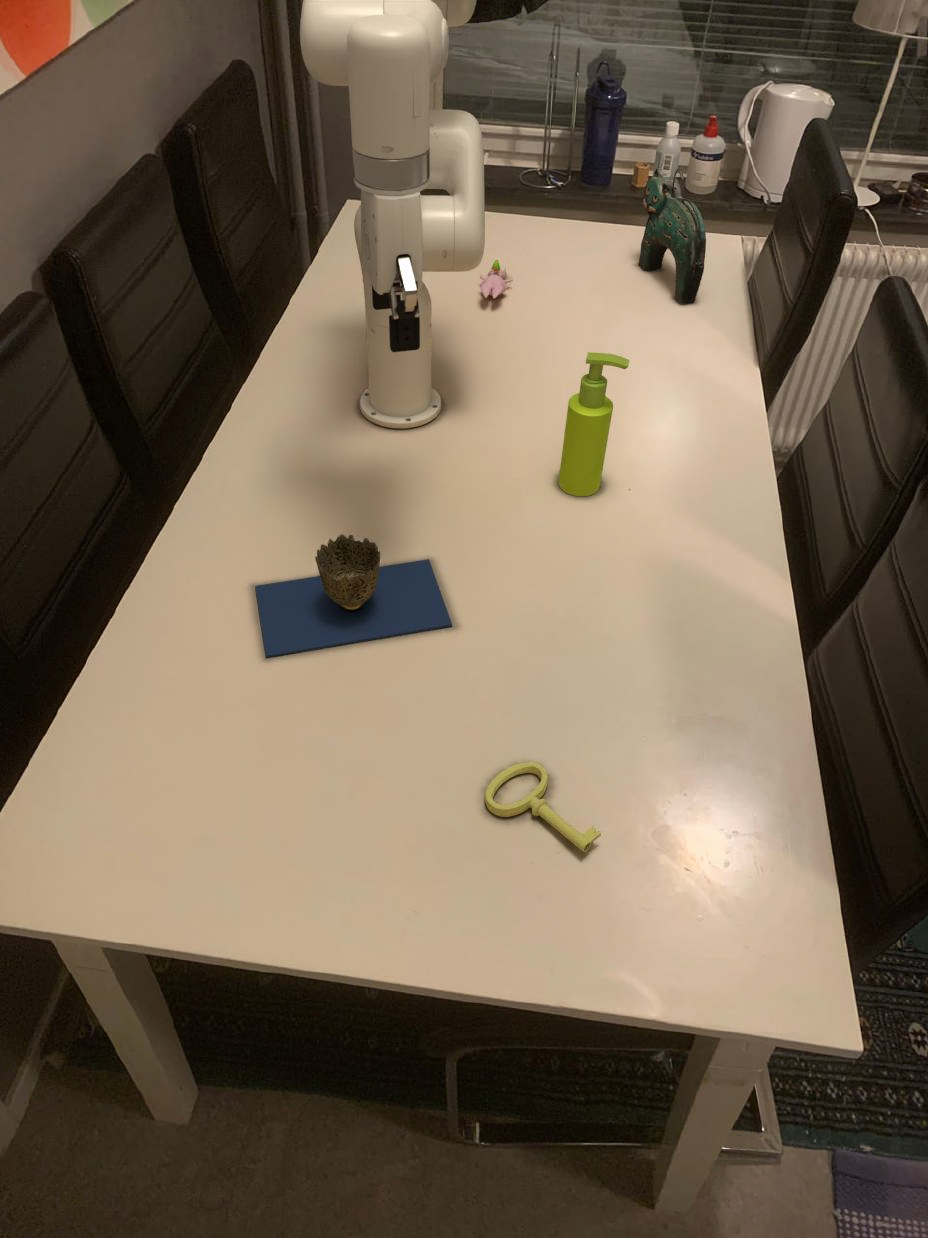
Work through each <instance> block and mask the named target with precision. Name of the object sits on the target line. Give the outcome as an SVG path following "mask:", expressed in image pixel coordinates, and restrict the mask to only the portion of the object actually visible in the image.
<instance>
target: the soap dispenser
mask: <svg viewBox="0 0 928 1238" xmlns="http://www.w3.org/2000/svg"><path fill="white" fill-rule="evenodd" d="M585 364H586V365H589V370H588V373H586V374H583V376H582V377H581V379H580V385H579V392H578V393H577V392H576V393H575V394H572V396H571V397H569V399H568V402H567V411H566V419H565V426H564V436H563V444H562V450H561V459H560V465H559V466H560V467H559V475H558V486H559V488H560V489H561V490H562V491H563V492H564V493H565V494H568V495H571V496H575V497H588V496H592V495H595V494H596V493H597V492H598V491H599V490H600V487H601V482H602V476H603V471H604V465H605V458H606V451H607V446H608V439H609V436H610V435H609V434H610V427H611V422H612V416H613V411H614V410H613V409H614V403H613V401H612V399H610V398H609V397H608V396H607V395H606V394H607V393H606V392H607V387H608V378H606V377H605V376H604V375H603V370H604V366H607V367H608V366H610V367H616V368H618V369H622V370H626V369H628V368H629V366H630V359H628V358H626V357H623V356H621V355H617V354H613V353H605V352H592V351H591V352H587V353H586V358H585Z"/></svg>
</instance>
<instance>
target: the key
mask: <svg viewBox="0 0 928 1238" xmlns="http://www.w3.org/2000/svg"><path fill="white" fill-rule="evenodd" d="M522 774H533V775H536V776H537V777H538V778H539V779H540V782H539V783H538V784H537V786H536V787H535V789H533V790H532V791H531V792H530V793H529V794H528V795H526V796H525V797H523V798H522V799H520V800H519V801H517V802H514V803H513V802H512V803H509V804H499V803H497V802H496V801H494V797H495V795H496V792H497V791H498V789H499V788H500V787H501V786H502V785H503V784H504V783H506V781H508V780H509V779H512V778H513V777H515V776H518V775H522ZM548 783H549V777H548V773H547V770H546V768H544V766H542V765H541V764H539V763H537V762H534V761H525V762H520V763H516V764H514V765H511V766H509V767H507V768H506V769H504V770H502V771H501V772H500V773H498V774H497V775H496V776H495V777H494V778H493V779H492V780H491V781H490V782H489V784H488V786H487V787H486V790H485V791H484V802H485V805H486V808H487V810H489V812H491V813H492V814H493V815H494V816H495V815H496V816H498V817H502V818H508V817H513V816H517V815H519V814H521V813H524V812H526V811H527V810H529V809H531V814H532V815H533V816H534V817H538V816H539V817H541V818H542V819H543V820H545V822H547V823H548V824H549V825H551V827H552V828H554V829H555V830H557V831H558V832H559V833H560V834H561V835H562V836H563V837H565V838H566V839H567V840H568V841H570V842H571V843H572V844H573V845H574V846H576V847H577V848H578V849H579V850H580V851H581V852H582V853H585V852H587V851H588V850H589V849H590V848H591V847H592V844H593V843H594V842H595V841H596V840H597V839H598V838H600V836H602V832H601V831H600V830H599V831H597V830H596V829H597V828H596V827H595V826H594V825H592V826H590V827H589V828H588V829H587V830H585V831H584V832H583V833H581V832H580V831H579V830H578V829H576V828H575V827H573V826H572V825H571V824H570V822H568V821H566V820H565V819H564V818H562V816H561V815H560V814H558V813H557V812H555V811H554V810H553V809H552V808H551V807H550V806H548V801H547V799H545V798H542V797H543V795H544V794H545V792H546V789H547V787H548Z"/></svg>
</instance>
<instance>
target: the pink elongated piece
mask: <svg viewBox="0 0 928 1238" xmlns="http://www.w3.org/2000/svg"><path fill="white" fill-rule="evenodd" d="M507 277H508V274H507V270H506V268H503V269H502V268H501V266H500V263H499V260H498V259H496V260H494V262H493V264H492V266H491V268H490V270H489V271H488V273H487V277H484V276H483V275H479V279H480V280H483V281H481V283H480V285H479V287H480V291H481V293H482V295H483V297H484V298H486V299H487V298H488V297H489V296H491V297H492V299H496V298H497V297H498V296H500V295H502V294H503V293H505V292H507V290H508V289H509V286H508V284H507V283H512V282H513V280H514V279H513V278H512V277H511V278H509V279H507Z"/></svg>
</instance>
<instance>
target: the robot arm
mask: <svg viewBox="0 0 928 1238" xmlns="http://www.w3.org/2000/svg"><path fill="white" fill-rule="evenodd" d="M476 5H477V0H302V7H301V13H300V23H299V40H300V42H299V43H300V50H301V55H302V60H303V63H304V65H305V68H306V70H307V71H308V74H309V75H310V76H311V77H312V78H313V79H314V80H315V81H316V82H317V83H320V84H323V85H326V86H331V87H348V97H349V113H350V129H351V130H350V133H351V134H350V135H351V149H352V151H351V152H352V153H351V154H352V170H353V171H352V172H353V183H354V186H355V187H356V188H357V189H359V190H360V205H359V206H358V208H357V209H356V211H355V215H354V220H353V224H354V225H353V227H354V229H353V231H354V238H355V244H356V248H357V253H358V258H359V262H360V263H359V264H360V270H361V276H362V284H363V297H364V313H365V315H364V316H365V330H366V331H365V333H366V353H367V354H366V355H367V369H368V370H367V374H368V375H367V376H368V388H366V389H365V390H364V391H363V393H361V395H360V398H359V410H360V412H361V415H362V416H363V417H364V418H366V419H367V420H368V421H370V422H371V423H373V424H375V425H377V426H381V427H385V428H388V429H389V428H390V429H413V428H416V427H421V426H423V425H426V424H429V422H432V421H433V420H434V419H436V418H437V417H438V416H439V414H440V413H441V410H442V397H441V396H440V393H438V391H437V390H436V389H434V388H433V387H432V347H433V346H432V345H433V344H432V343H433V342H432V338H433V337H432V335H433V334H432V331H433V329H432V328H433V327H432V325H433V316H432V315H433V310H432V309H433V307H432V306H433V305H432V304H433V303H432V299H431V295H430V291H429V290H428V288H427V286H426V284H425V283H424V281H423V274H424V273H465V272H469V271H473V270H475V269H476V268H478V267H479V265H481V263H482V260H483V257H484V254H485V246H486V245H485V244H486V206H485V205H486V203H485V200H486V199H485V198H486V197H485V152H484V151H485V150H484V138H483V133H482V129H481V126H480V123H479V121H478V119H477V118H476V117H475V116H474V115H473V114H472V113H470V112H469V111H466V110H461V109H449V108H448V109H446V108H445V109H442V108H437V109H436V108H431V86H433V84H434V83H435V82H436V81H437V79H438V78H439V76H440V74H441V71H442V70H443V69H444V68H445V67H446V65H447V62H448V58H449V48H450V35H449V34H450V33H449V28H453V27H454V28H455V27H460V26H464V25H465V24H467V23H468V22H469V21H470V20H471V18H472V16H473V14H474V13H475V9H476ZM425 190H445V191H446V192H447V193H448V194H449V195H434V194H433V195H431V194H430V195H429V194H427V195H426V194H425V195H423V194H421V192H422V191H425Z"/></svg>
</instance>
